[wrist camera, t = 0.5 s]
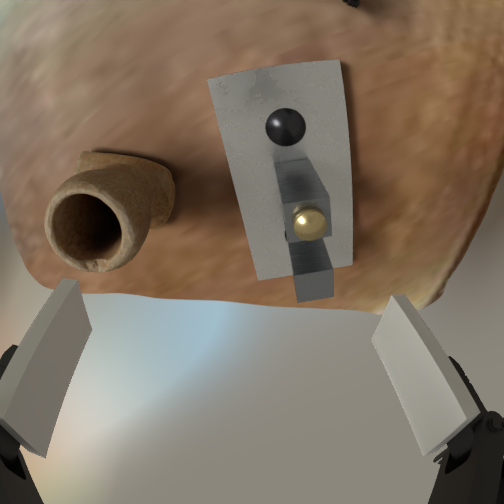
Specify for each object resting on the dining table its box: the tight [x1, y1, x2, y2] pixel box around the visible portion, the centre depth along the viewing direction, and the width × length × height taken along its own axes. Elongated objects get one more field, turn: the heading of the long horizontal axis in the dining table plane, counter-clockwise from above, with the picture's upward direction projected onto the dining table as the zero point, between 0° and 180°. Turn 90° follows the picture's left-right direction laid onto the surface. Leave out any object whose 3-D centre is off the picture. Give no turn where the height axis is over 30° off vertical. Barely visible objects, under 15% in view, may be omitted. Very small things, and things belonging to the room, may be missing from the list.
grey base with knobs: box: [207, 60, 353, 303], centre depth 30 cm, size 14×28×12 cm, turn 11°
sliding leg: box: [274, 159, 332, 243], centre depth 28 cm, size 4×4×11 cm
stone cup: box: [44, 151, 175, 272], centre depth 28 cm, size 15×12×15 cm
